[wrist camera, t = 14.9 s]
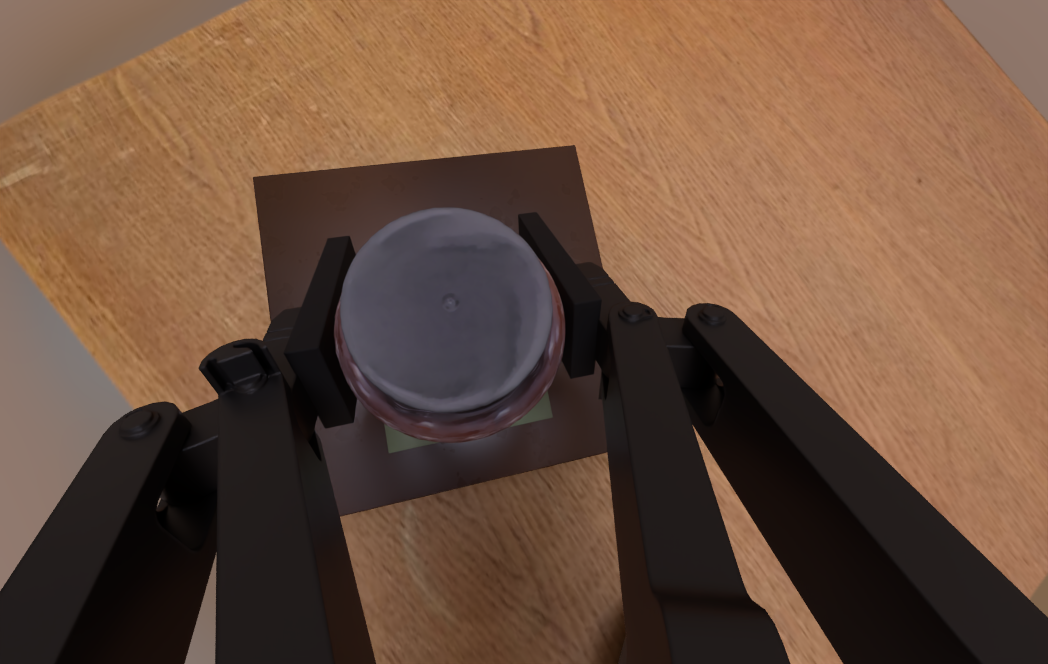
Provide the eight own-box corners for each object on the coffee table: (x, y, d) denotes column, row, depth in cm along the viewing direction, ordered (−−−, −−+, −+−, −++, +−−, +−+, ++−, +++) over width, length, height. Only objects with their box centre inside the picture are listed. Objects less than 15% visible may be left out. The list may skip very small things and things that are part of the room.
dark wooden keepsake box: (340, 490, 22) (293, 529, 16) (304, 228, 24) (250, 174, 18) (601, 430, 25) (644, 444, 19) (551, 198, 27) (576, 142, 21)
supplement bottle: (376, 316, 18) (228, 201, 7) (496, 274, 19) (535, 116, 8) (421, 439, 17) (341, 526, 6) (542, 388, 19) (651, 388, 8)
